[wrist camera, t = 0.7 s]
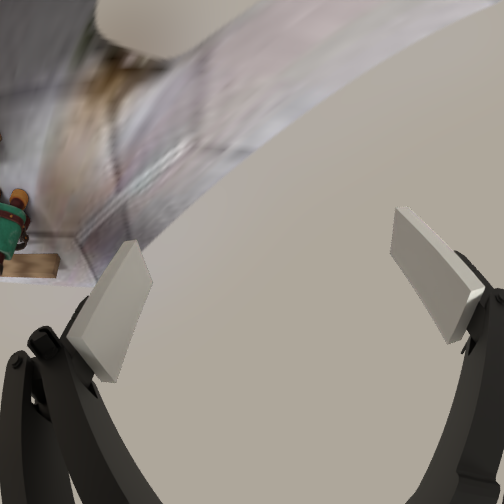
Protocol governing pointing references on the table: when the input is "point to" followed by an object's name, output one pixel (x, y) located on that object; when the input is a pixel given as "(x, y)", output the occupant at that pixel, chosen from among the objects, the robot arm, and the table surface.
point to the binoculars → (13, 226)
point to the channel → (31, 265)
